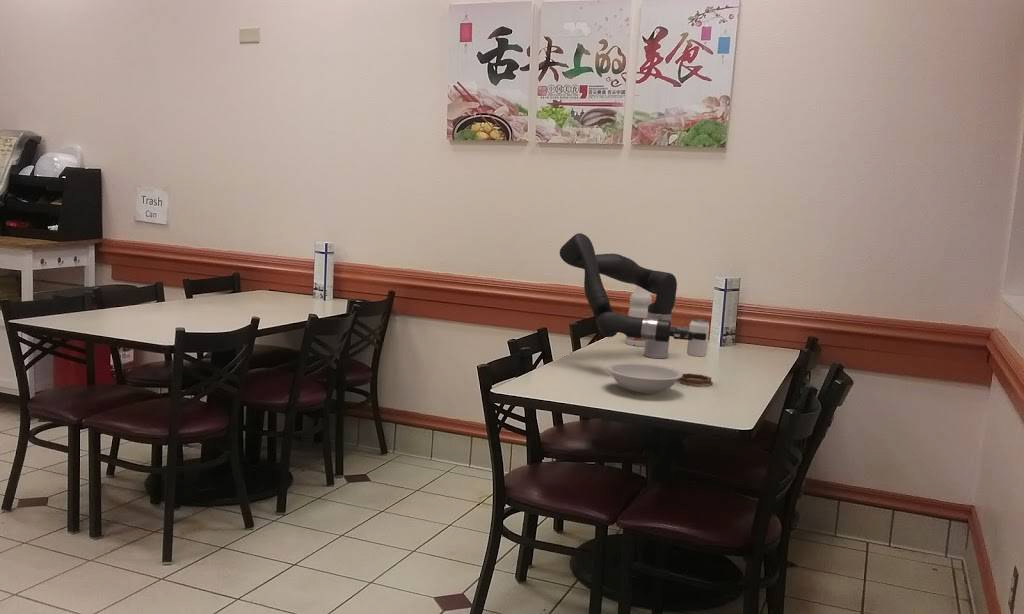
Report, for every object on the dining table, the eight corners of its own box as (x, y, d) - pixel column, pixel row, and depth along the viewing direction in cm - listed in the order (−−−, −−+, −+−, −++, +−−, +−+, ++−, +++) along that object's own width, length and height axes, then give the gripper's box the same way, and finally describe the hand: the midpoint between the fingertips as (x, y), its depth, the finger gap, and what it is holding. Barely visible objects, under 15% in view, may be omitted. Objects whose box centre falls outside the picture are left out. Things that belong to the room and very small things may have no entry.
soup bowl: (602, 380, 280) (603, 360, 279) (674, 385, 279) (676, 365, 278) (608, 397, 256) (610, 376, 255) (687, 402, 255) (689, 381, 255)
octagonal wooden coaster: (677, 376, 292) (678, 371, 292) (712, 381, 289) (713, 375, 289) (675, 383, 281) (675, 378, 280) (711, 388, 278) (712, 382, 277)
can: (706, 358, 280) (710, 322, 278) (686, 355, 281) (690, 320, 279) (705, 354, 286) (709, 320, 284) (686, 352, 287) (690, 318, 286)
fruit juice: (631, 341, 359) (637, 276, 356) (651, 344, 354) (657, 279, 351) (622, 344, 352) (627, 277, 348) (642, 347, 347) (648, 280, 343)
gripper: (654, 321, 279) (706, 327, 275) (658, 316, 293) (708, 322, 288) (652, 344, 280) (704, 350, 276) (656, 337, 294) (706, 343, 289)
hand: (706, 335), depth 282 cm, fingers closed on can, 5 cm apart
